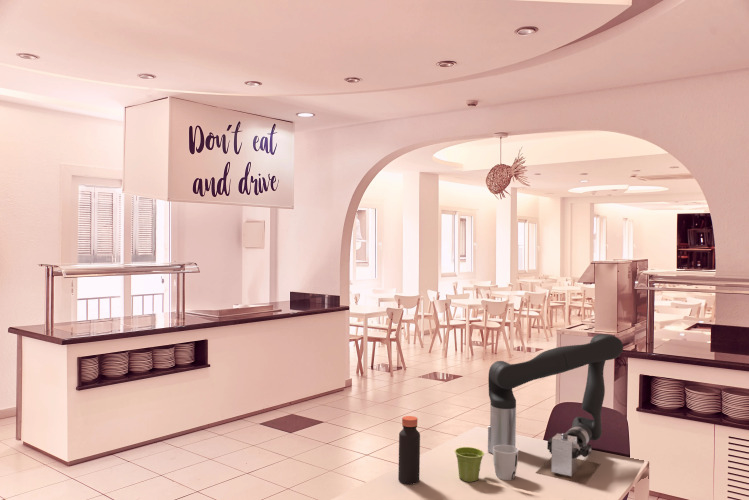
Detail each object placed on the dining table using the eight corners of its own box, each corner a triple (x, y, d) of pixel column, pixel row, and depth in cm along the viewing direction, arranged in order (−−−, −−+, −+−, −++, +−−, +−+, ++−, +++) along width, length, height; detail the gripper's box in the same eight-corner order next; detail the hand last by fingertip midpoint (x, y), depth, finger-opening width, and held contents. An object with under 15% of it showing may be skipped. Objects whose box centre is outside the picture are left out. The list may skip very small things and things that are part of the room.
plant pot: (484, 474, 188) (484, 448, 189) (483, 485, 179) (483, 458, 179) (455, 471, 191) (456, 445, 191) (453, 482, 181) (453, 455, 181)
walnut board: (535, 475, 188) (535, 472, 188) (554, 456, 206) (554, 454, 206) (585, 487, 179) (585, 484, 179) (600, 466, 198) (600, 463, 198)
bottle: (413, 486, 178) (414, 422, 178) (394, 481, 181) (395, 418, 181) (423, 479, 183) (424, 417, 184) (404, 474, 187) (405, 413, 187)
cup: (518, 485, 180) (519, 454, 180) (492, 483, 181) (492, 451, 181) (517, 476, 188) (517, 445, 188) (492, 473, 189) (492, 443, 189)
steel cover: (551, 471, 187) (551, 434, 187) (557, 465, 192) (557, 429, 192) (571, 476, 183) (571, 438, 184) (576, 470, 189) (576, 433, 189)
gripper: (555, 425, 204) (540, 437, 190) (597, 432, 196) (585, 446, 182) (554, 446, 204) (540, 460, 190) (596, 454, 196) (585, 469, 182)
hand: (562, 453), depth 186 cm, fingers closed on steel cover, 6 cm apart
